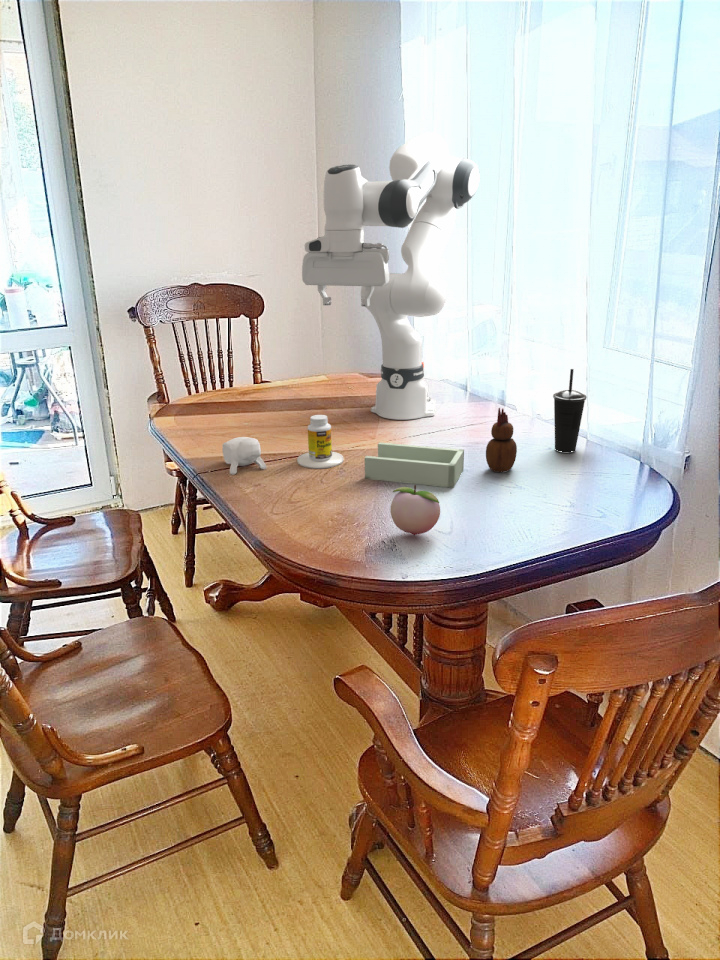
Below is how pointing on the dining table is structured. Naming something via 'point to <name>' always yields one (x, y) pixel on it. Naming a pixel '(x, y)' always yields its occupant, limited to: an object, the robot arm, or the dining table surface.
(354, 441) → the dining table surface
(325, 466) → the white round disc
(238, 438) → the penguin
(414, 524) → the decorative fruit
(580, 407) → the drinking cup
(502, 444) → the wooden figurine
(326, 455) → the supplement bottle
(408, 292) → the robot arm
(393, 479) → the green rectangular tray
